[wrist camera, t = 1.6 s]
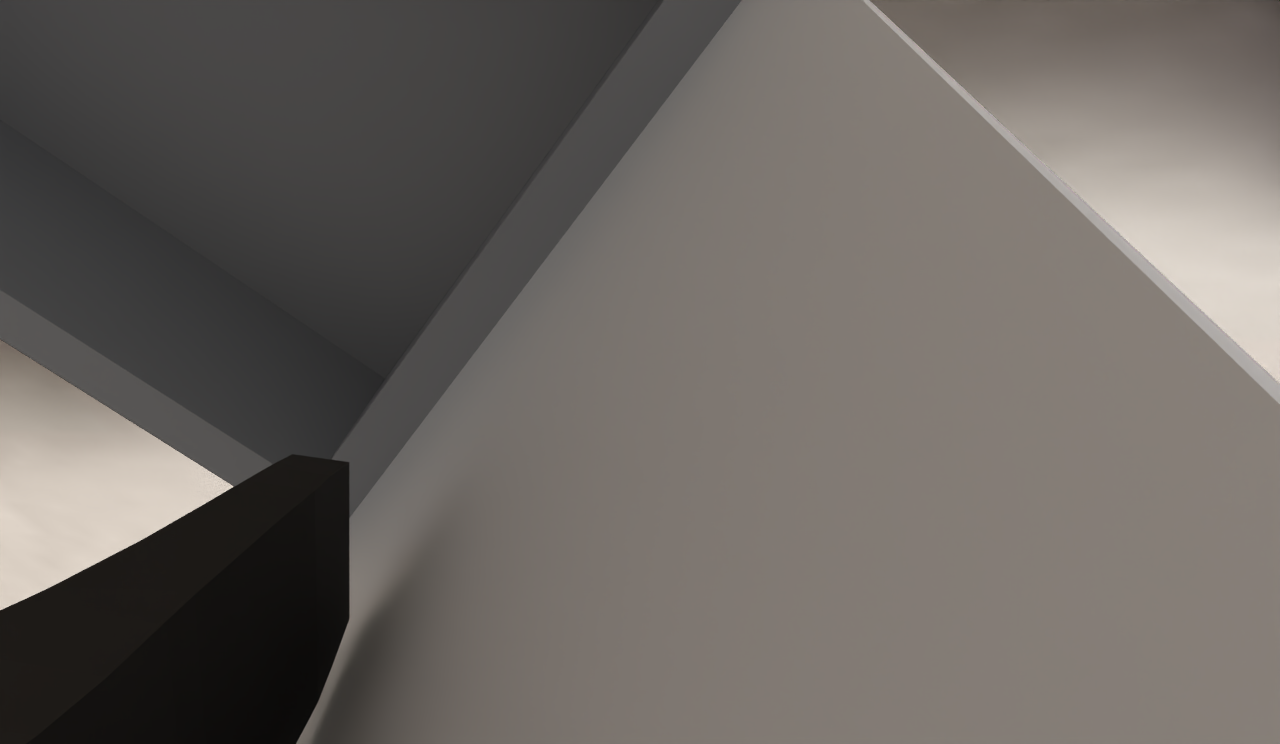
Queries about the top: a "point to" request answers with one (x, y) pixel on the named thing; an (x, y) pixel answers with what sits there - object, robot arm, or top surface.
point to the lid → (827, 450)
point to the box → (303, 199)
